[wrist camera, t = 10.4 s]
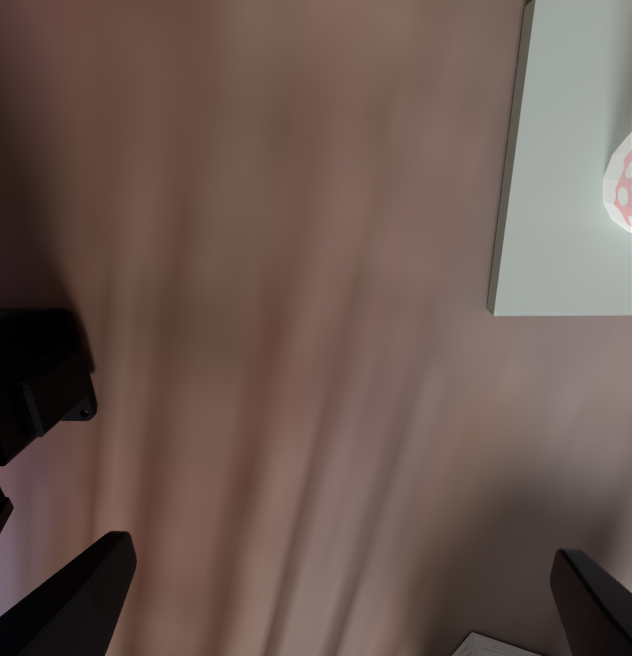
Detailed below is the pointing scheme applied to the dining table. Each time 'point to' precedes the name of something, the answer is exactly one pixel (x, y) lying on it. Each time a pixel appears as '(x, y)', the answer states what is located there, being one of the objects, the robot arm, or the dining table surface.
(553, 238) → the ceramic coaster
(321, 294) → the dining table surface
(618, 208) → the beverage cup
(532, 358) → the dining table surface
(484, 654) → the supplement box
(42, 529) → the dining table surface
